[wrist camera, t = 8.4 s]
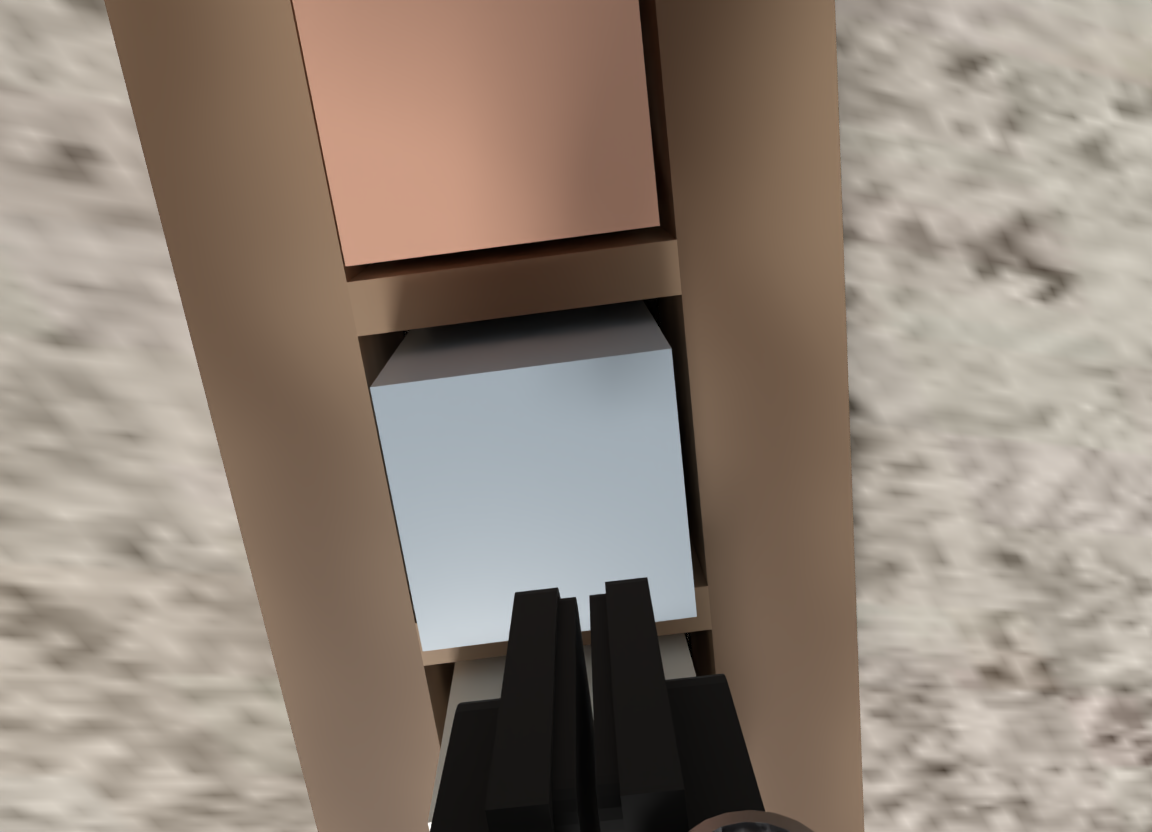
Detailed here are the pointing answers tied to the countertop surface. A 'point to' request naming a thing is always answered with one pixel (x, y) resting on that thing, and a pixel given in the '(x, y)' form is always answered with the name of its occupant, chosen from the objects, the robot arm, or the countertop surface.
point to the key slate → (534, 466)
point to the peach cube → (479, 121)
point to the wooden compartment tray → (504, 289)
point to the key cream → (487, 678)
